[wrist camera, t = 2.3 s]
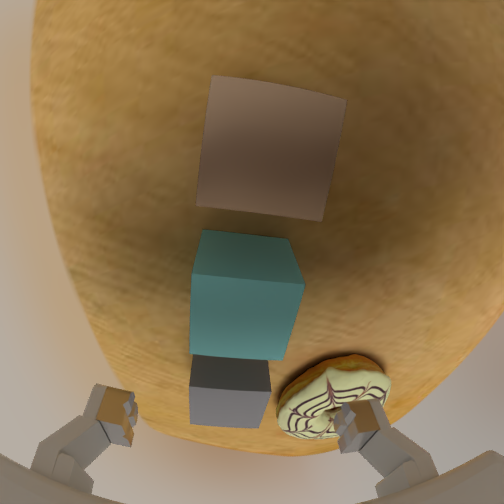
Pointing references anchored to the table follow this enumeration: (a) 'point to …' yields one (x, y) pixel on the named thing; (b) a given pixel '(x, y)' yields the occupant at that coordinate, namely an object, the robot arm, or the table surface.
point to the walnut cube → (268, 148)
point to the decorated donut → (328, 395)
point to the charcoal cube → (228, 391)
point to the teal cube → (243, 296)
